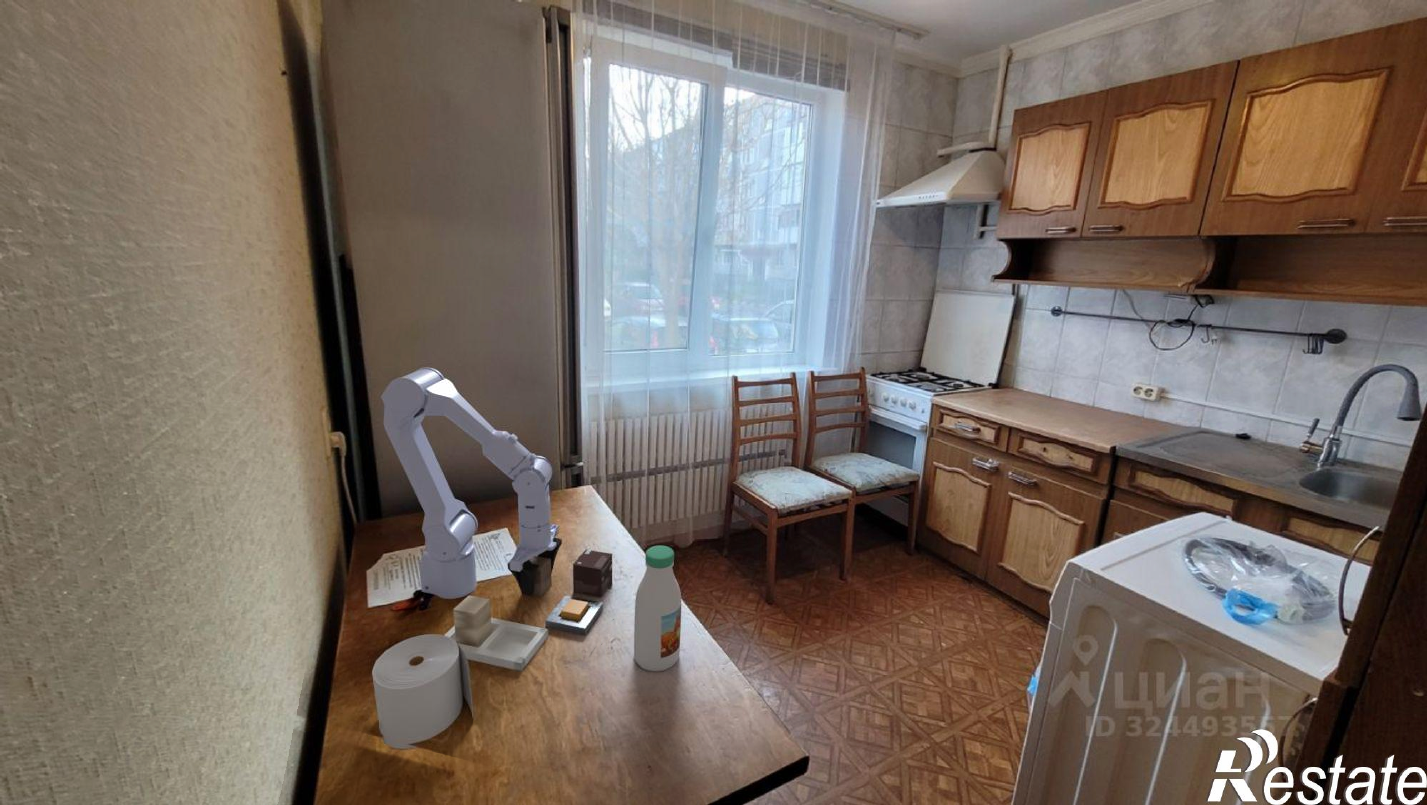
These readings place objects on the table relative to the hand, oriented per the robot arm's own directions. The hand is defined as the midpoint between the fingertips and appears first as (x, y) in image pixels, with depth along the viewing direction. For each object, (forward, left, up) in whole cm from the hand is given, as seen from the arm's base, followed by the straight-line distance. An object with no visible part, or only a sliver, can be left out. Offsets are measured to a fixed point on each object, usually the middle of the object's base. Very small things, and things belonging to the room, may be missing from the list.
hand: (537, 583), depth 107 cm
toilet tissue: (0, -31, -2) cm, 31 cm away
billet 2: (0, 0, -2) cm, 2 cm away
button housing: (+11, -6, -2) cm, 13 cm away
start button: (+11, -6, -2) cm, 13 cm away
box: (+10, +4, -2) cm, 11 cm away
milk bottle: (+28, -10, -2) cm, 30 cm away
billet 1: (-3, -16, -1) cm, 16 cm away
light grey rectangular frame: (+1, -16, -2) cm, 16 cm away
